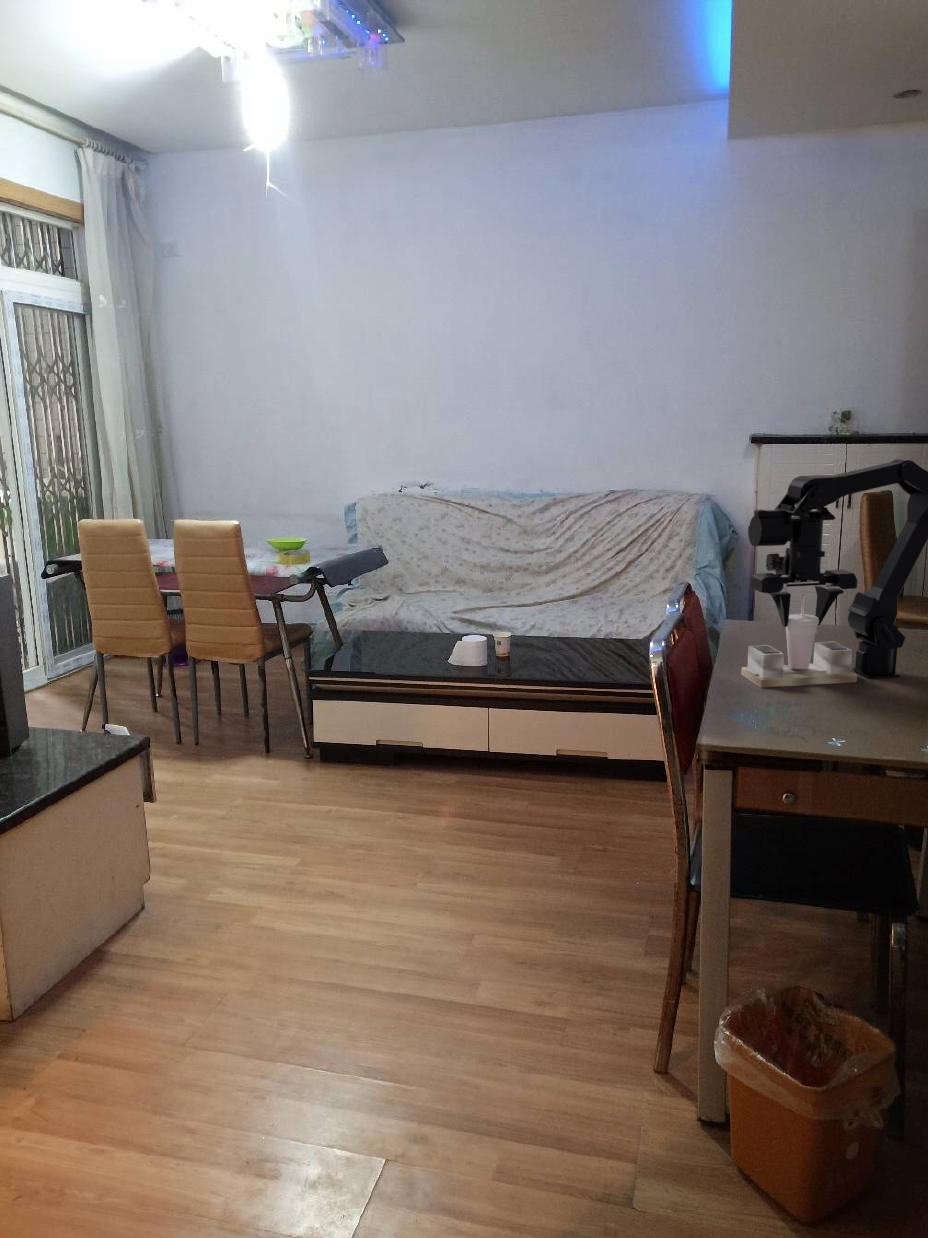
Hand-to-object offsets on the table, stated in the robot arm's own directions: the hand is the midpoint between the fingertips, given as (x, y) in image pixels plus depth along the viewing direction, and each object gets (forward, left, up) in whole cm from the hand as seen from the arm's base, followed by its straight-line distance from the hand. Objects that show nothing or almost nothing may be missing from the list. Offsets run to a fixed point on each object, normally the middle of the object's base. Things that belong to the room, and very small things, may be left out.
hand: (801, 625), depth 185 cm
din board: (0, 0, -10) cm, 10 cm away
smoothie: (0, 0, -8) cm, 8 cm away
